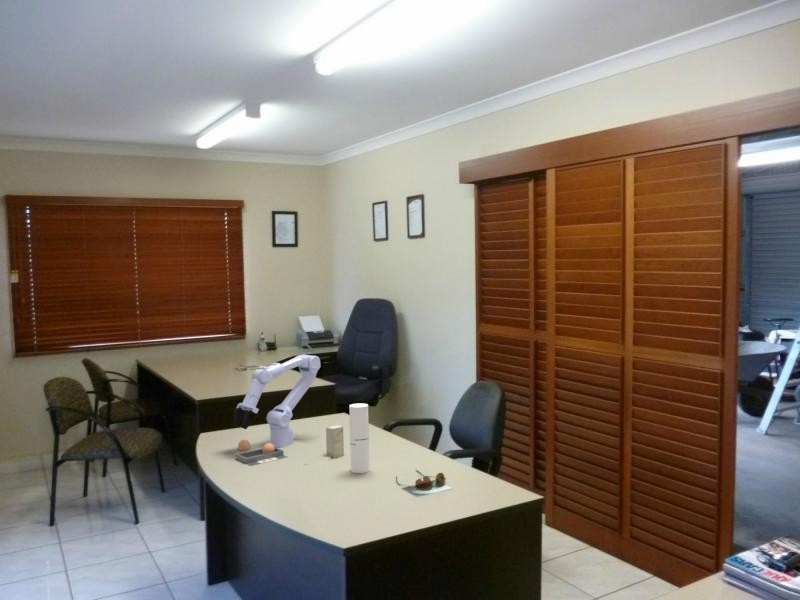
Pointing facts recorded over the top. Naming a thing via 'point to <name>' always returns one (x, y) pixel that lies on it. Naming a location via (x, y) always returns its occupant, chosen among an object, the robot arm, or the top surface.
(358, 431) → the cylindrical container
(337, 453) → the skincare box
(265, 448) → the resting terracotta ball
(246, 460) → the grey rimmed tray
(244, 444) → the terracotta ball
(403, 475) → the top surface
